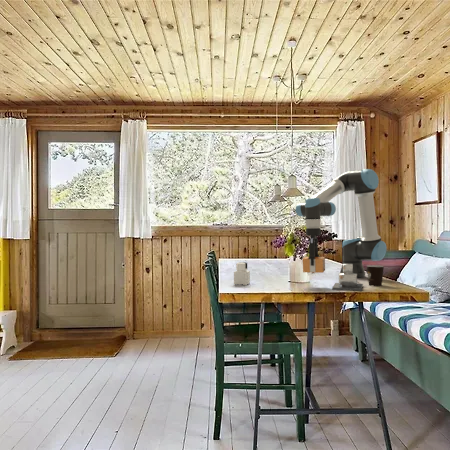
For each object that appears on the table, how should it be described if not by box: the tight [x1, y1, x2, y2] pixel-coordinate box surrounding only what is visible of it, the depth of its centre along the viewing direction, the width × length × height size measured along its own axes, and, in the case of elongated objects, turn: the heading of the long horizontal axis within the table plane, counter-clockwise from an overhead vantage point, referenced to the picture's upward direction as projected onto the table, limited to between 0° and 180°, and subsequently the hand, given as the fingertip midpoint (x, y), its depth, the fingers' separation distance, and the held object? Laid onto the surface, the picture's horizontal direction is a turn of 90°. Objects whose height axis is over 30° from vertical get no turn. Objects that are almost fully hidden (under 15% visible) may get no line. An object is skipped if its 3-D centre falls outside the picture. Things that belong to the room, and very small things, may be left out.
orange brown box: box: [302, 256, 326, 274], centre depth 226 cm, size 10×10×7 cm
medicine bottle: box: [233, 261, 251, 286], centre depth 239 cm, size 7×7×12 cm
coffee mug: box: [365, 264, 385, 287], centre depth 232 cm, size 12×9×10 cm
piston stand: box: [332, 263, 364, 292], centre depth 222 cm, size 18×14×12 cm
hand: (314, 270), depth 226 cm, fingers closed on orange brown box, 10 cm apart
